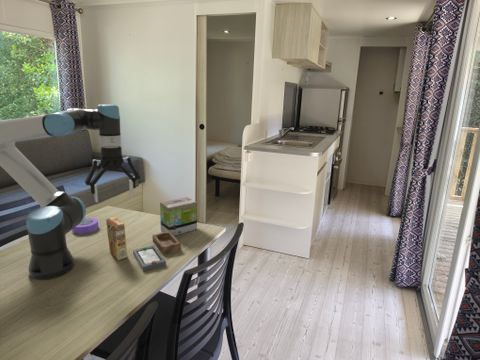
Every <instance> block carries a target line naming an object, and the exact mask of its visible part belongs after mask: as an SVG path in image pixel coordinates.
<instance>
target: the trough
mask: <svg viewBox="0 0 480 360" xmlns="http://www.w3.org/2000/svg"><path fill="white" fill-rule="evenodd" d="M152 243H153V244H154V246H155V247H156V248H157V250H158V251H159V252H160V254H161V255H162V256H164V255H168V254H171V253H176V252H180V250H182V249H181V242H180V241H179V240H178V239H177V238H176V237H175V236H173V234H172V233H171V232H170V231H168V232H163V231H162V232H159V233H156V234H155V233H154V234H152Z"/></svg>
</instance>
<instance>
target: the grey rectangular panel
mask: <svg viewBox="0 0 480 360" xmlns="http://www.w3.org/2000/svg"><path fill="white" fill-rule="evenodd" d="M138 255H139V256H140V258H141V260H142V261H143V263H144V264H148V263H152V261H160V259H159V257H158V256H157V255H156V253H155V252H154V250H153V249H148V250H144V251H139V252H138Z"/></svg>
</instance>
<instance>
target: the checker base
mask: <svg viewBox="0 0 480 360" xmlns="http://www.w3.org/2000/svg"><path fill="white" fill-rule="evenodd" d="M148 249H153V250H154V252H155V253H156V255H157V256H158V257H159V259H160V261H152V263H148V264H144V263H143V261H142V260H141V258H140V256H139V255H138V252H139V251H144V250H148ZM132 253H133V256H134V259H135V260H136V261H137V263H138V265H139V268H140V269H141V270H142V272H147V271H150V270H153V269H154V270H155V269H158V268H163V267H166V266H167V261H166V259H165V258H164V257H163V255H162V254H161V252H160V251H159V250H158V248H157V247H156V245H155V244H154V245H150V246H146V245H145V246H141V247H140V248H136V249H133V250H132Z"/></svg>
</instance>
